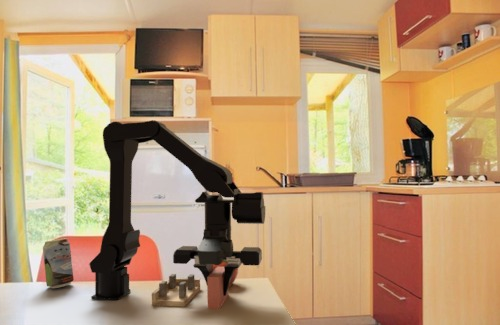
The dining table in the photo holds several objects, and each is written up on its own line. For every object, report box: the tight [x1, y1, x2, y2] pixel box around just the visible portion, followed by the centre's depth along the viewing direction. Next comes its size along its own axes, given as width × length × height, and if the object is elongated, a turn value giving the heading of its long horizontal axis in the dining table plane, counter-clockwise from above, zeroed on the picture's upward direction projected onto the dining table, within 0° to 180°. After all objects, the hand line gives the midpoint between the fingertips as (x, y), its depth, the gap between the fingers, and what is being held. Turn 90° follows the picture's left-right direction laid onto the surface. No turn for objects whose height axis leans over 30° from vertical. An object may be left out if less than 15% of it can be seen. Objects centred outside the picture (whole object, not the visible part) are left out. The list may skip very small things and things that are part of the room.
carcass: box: [151, 273, 201, 307], centre depth 85 cm, size 7×12×4 cm, turn 172°
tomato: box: [213, 260, 239, 287], centre depth 93 cm, size 7×7×8 cm
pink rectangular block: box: [206, 266, 229, 310], centre depth 81 cm, size 9×2×6 cm, turn 172°
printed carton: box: [42, 237, 74, 289], centre depth 93 cm, size 6×7×12 cm
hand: (218, 295), depth 81 cm, fingers closed on pink rectangular block, 2 cm apart
